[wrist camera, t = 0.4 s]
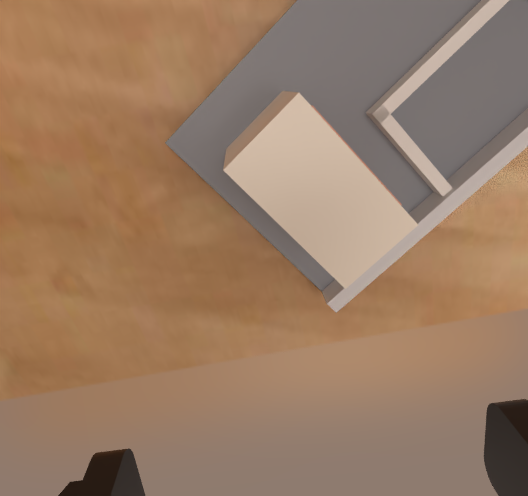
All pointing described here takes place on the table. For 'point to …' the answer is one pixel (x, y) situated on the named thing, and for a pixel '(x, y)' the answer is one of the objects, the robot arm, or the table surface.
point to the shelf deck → (380, 106)
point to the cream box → (317, 188)
